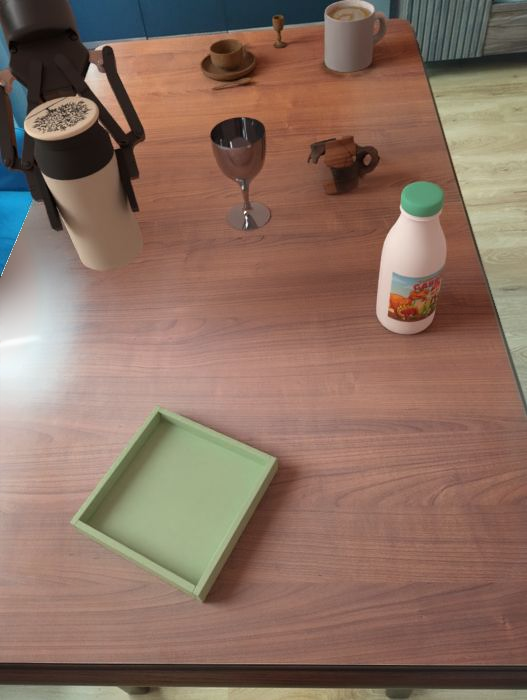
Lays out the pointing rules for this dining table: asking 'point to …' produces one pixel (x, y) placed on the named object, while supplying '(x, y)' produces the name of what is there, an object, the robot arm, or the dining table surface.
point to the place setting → (235, 58)
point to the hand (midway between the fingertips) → (97, 219)
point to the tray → (177, 500)
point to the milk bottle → (412, 261)
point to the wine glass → (242, 165)
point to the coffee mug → (351, 34)
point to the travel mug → (85, 181)
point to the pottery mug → (343, 162)
